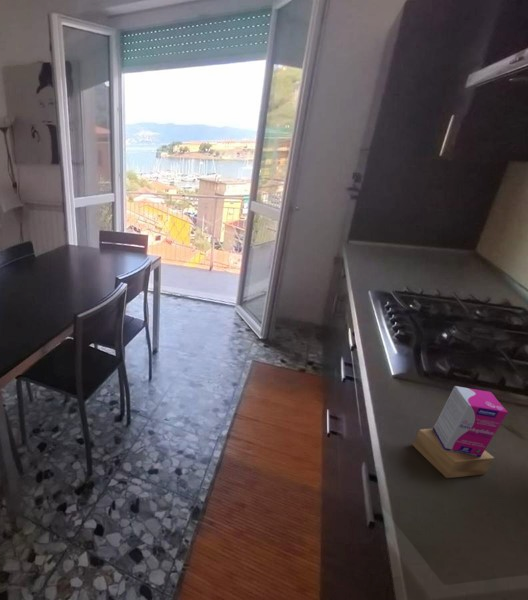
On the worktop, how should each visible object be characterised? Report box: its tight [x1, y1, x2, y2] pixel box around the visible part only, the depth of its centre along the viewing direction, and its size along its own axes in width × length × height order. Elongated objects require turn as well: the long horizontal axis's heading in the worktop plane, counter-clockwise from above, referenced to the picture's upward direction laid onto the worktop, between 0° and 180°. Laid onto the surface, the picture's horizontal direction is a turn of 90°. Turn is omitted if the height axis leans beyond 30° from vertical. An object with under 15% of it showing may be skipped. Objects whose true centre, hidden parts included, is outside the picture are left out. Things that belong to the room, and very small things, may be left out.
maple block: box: [412, 427, 495, 479], centre depth 70 cm, size 8×8×4 cm
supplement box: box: [432, 385, 509, 457], centre depth 67 cm, size 6×6×12 cm
